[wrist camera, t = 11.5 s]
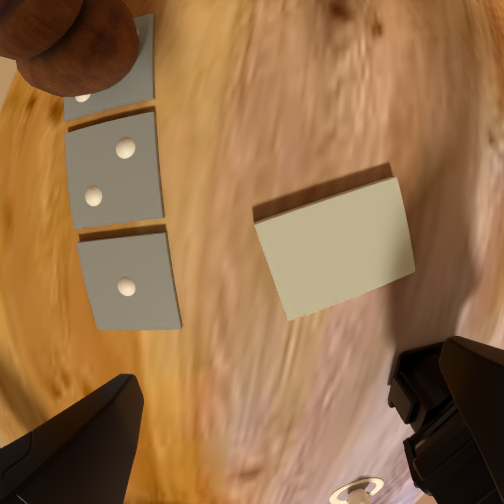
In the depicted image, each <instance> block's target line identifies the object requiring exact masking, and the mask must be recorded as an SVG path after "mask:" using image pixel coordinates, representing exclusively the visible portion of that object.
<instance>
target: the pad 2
mask: <svg viewBox="0 0 504 504" xmlns="http://www.w3.org/2000/svg"><path fill="white" fill-rule="evenodd" d="M65 153H66V168H67V179H68V189H69V198H70V205H71V213H72V219H73V226H74V229H81V228H88V227H95V226H102V225H110V224H117V223H125V222H133V221H141V220H149V219H158V218H164V217H165V214H164V206H163V197H162V188H161V178H160V167H159V155H158V142H157V128H156V113H155V112H148V113H143V114H138V115H134V116H129V117H125V118H120V119H116V120H112V121H108V122H104V123H100V124H97V125H93V126H89V127H86V128H82V129H79V130H75V131H72V132H69V133H66V134H65Z"/></svg>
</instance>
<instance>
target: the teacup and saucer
mask: <svg viewBox="0 0 504 504" xmlns="http://www.w3.org/2000/svg"><path fill="white" fill-rule="evenodd" d="M364 482H374V483H376V488H375V489H374V490H373V491H372V492H370V493H369V494H367V493H366V492H365V491H364V490H363V489H356V490H353V491H351V492H350V493H349V495H348V501H339V500H338V499H337V495H338V494H339V493H340V492H341V491H343V490H345V489H346V488H348V487H351V486H353V485H356V484H359V483H364ZM383 484H384V482H383V480H382V479H380V478H368V479H363V480H359V481H356V482H353V483H350V484H348V485H346V486H343V487H342V488H340V489H338V490H337V491H335V492H334V493H333V494H332V495H331V496H330V498H329V501H330V502H331V503H332V504H372V503H371V498H370V496H372V495H374V494H375V493H376V492H378V491H379V490H380V489H381V488H382V486H383Z"/></svg>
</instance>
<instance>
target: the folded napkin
mask: <svg viewBox="0 0 504 504" xmlns="http://www.w3.org/2000/svg"><path fill="white" fill-rule="evenodd" d="M254 226H255V229H256V231H257V234H258V237H259V240H260V243H261V245H262V248H263V251H264V254H265V257H266V259H267V262H268V265H269V268H270V271H271V273H272V276H273V279H274V282H275V285H276V288H277V290H278V293H279V296H280V299H281V302H282V305H283V307H284V310H285V313H286V316H287V319H288V321H290V320H293V319H296V318H299V317H302V316H305V315H307V314H310V313H313V312H316V311H319V310H321V309H324V308H327V307H329V306H332V305H335V304H338V303H340V302H343V301H345V300H348V299H351V298H353V297H356V296H358V295H361V294H363V293H366V292H368V291H371V290H373V289H376V288H378V287H381V286H383V285H386V284H388V283H390V282H393V281H395V280H397V279H400V278H402V277H404V276H407V275H409V274H411V273H414V272H416V270H415V263H414V257H413V251H412V245H411V239H410V234H409V228H408V223H407V218H406V214H405V209H404V205H403V200H402V196H401V192H400V188H399V184H398V180H397V177H387V178H384V179H381V180H378V181H375V182H372V183H369V184H366V185H362V186H359V187H356V188H353V189H350V190H347V191H344V192H341V193H338V194H335V195H332V196H329V197H326V198H323V199H320V200H317V201H314V202H311V203H308V204H305V205H302V206H299V207H296V208H293V209H290V210H288V211H285V212H282V213H279V214H276V215H273V216H270V217H267V218H264V219H262V220H259V221H256V222H254Z"/></svg>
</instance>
